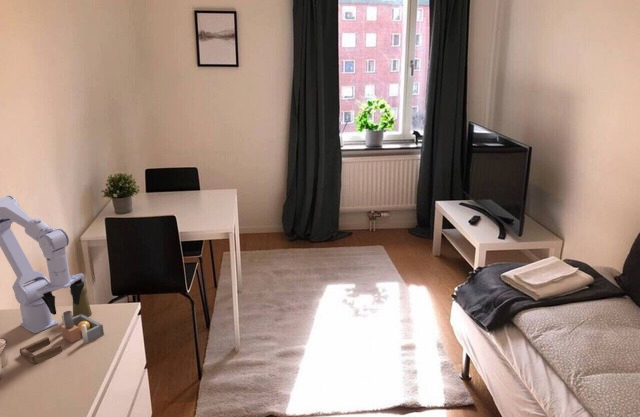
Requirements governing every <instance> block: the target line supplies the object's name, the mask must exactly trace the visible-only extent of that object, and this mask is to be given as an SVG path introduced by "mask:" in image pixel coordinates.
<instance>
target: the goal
mask: <svg viewBox="0 0 640 417" xmlns="http://www.w3.org/2000/svg"><path fill="white" fill-rule="evenodd" d="M72 317H73V316H72ZM61 321H62V326H63V325H65V321H64V315H63V313H62V314H61ZM82 321H87V322H89V323H90V325H91V328H90V329H89V330H87V329H86V325H85V324H83V325H81V329H82V333H81V335H82V341H83V344H85V345H86V344H88V343H90V342H92V341H94V340H96V339H97V338H99V337H102V336H105V332H104V325H103V324H101V322H98V321H95V319H91V318H90V317H86V316H85V315H83V314H80V315H77V316H75V317H73V323H74V325H75V326H78V324H79V323H80V322H82Z"/></svg>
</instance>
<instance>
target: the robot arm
mask: <svg viewBox="0 0 640 417" xmlns="http://www.w3.org/2000/svg"><path fill="white" fill-rule="evenodd" d="M13 223H16V224H18V225H19V226H21V227H23V228H24V232H25V234H26V235H28V236H29V237H31V239H33V240H34V241H36V242H37V243H38V245H39V248H40V250H41V251H42V254H43V255H42V256H44V258H45V259H46V264H47V265H46V267H47V271H48V272H47V273H48V276H49V279H48V277H47V276H46V275H45V273H44V272H42V271H39V270H38V271H37V270H34V269H33V266H32V264H31V263H30V261H29V259H28V257H27V256H26V254H25V251H24V250H23V248H22V247H21V245H20V243H19V241H18V239H17V237H16V235H15V234H14V232H13V231H12V228H11V226H12V224H13ZM69 243H70V239H69V235H68V234H67V233H66V231H65V230H63V228H53V227H51V226H50V225H48V224H47V223H46V222H45V221H43V220H41V219H40V218H36V217H35V218H32V217H31V216H30V215H29V214H28V213H27V212H25V211H24V210H23V209H22V208H21V207H20V203H19V201H18V200H17V198H15V197H14V196H13V195H11V194H9V195H6V196H3V197H0V249H1V251H2V253H3V254H4V256H5V258H6V261H7V262H8V263H9V265H10V267H11V268H12V271H13V273H14V274H15V276H16V279H15V281H14V282H13V285H12V290H13V292H14V296H15V299H16V301H17V302H18V304H20V306H19V310H20V313H21V314H20V315H21V320H22V322H20V326H21V327H23V328H24V329H26V330H28V331H29V332H32V334H37V333H39V332H43V331H45V330H46V329H49V328H51V327H53V326H56V325H58V324H59V323H58V321H56V320H55V319H54V318H52V316H55V315H57V309H56V308H57V307H56V296H55V295H53V292H55V291H57V290H60V289H67V288H70V290H71V292H72V295H71V298H72V303H73V302H74V304H76V305H79V301H80V295H81V292H82V289H83V287H84V285H85V283H84V281H85V274H83V273H82V272H80V273H77V274H72V275H71V274H70V268H69V267H70V266H69V260H68V254H67V249H66V247H68V245H69Z"/></svg>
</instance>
